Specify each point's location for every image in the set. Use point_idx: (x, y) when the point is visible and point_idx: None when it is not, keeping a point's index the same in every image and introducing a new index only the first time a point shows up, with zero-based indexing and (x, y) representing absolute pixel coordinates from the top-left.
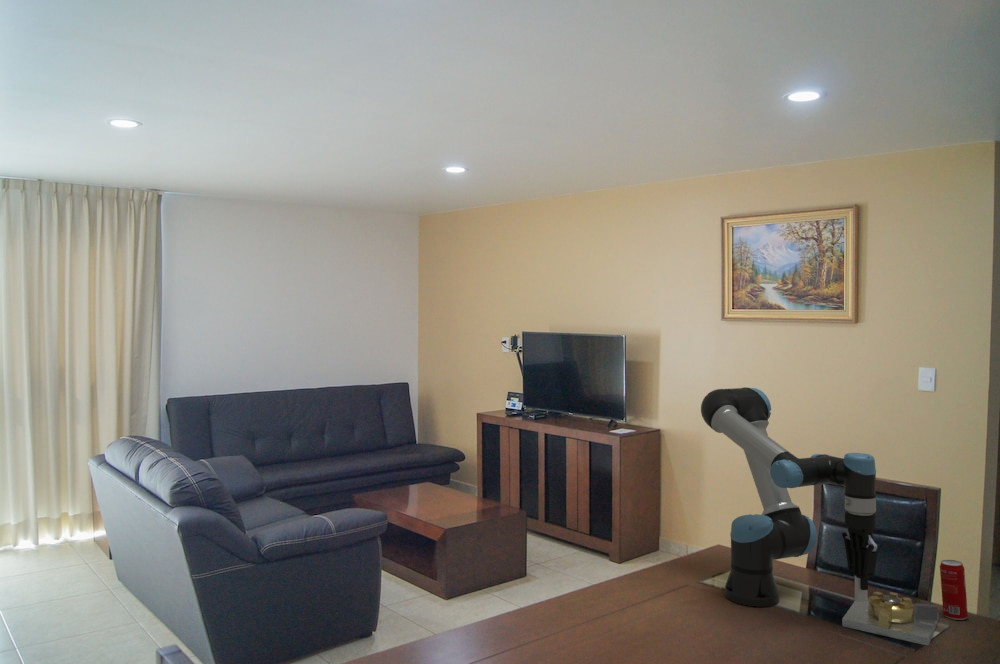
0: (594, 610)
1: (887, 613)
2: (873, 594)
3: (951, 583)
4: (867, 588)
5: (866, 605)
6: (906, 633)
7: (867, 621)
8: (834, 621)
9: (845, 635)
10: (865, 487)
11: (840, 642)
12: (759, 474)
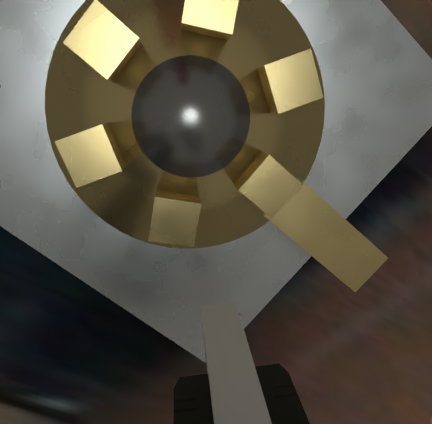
0: None
1: (348, 237)
2: (83, 184)
3: None
4: (287, 375)
5: (37, 172)
6: (392, 166)
7: (249, 273)
8: (155, 354)
9: (290, 368)
10: None
11: (342, 406)
12: None
